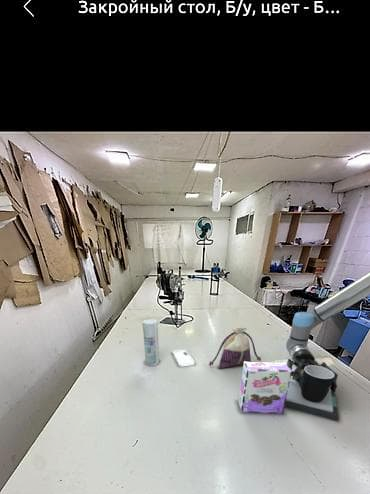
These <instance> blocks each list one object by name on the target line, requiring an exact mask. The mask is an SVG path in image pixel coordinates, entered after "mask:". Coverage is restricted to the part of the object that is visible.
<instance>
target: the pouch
mask: <svg viewBox="0 0 370 494" xmlns="http://www.w3.org/2000/svg"><path fill="white" fill-rule="evenodd" d="M231 330H232V331H233V332H232V333H230V334H228V335H227V336H226V337H225V338H224V339H223V340H222V342H221V343H220V345H219V348H218V351H217V352H216V355H215V357H214V358H213V359H212V361H209V363H208V366H209V367H211V366H213V365H214V362H215V361H217V358H218V356H219V354H220V352H221V354H220V358H219V361H218V365H217V368H218V369H223V368H229V367H236V366H240V365H243V364H244V361H246V362H252V360H251V359H252V358H251V345H252V351H253V354H254V356H255V357H256V360H257V361H258V362H262V358H261V356H258V354H257V352H256V347H255V343H254V340H253V338H252V337H251V335H250V334H249V333H248V332H246V331H247V327H237V328H236V329H231ZM250 342H251V345H250ZM221 350H222V351H221Z"/></svg>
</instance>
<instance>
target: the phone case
mask: <svg viewBox="0 0 370 494" xmlns="http://www.w3.org/2000/svg"><path fill="white" fill-rule="evenodd" d="M185 354H186V355H185ZM172 355H173V357H174V359H175V361H176V363H177V365H178V366H179V368H181V367H189V366H195V365H196V363H195V360H194V358H193V357H192V356H191V354H190V352H189V351H188V349H177V350H172Z"/></svg>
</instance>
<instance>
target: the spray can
mask: <svg viewBox="0 0 370 494" xmlns="http://www.w3.org/2000/svg"><path fill="white" fill-rule="evenodd" d="M142 330H143V331H142V333H143V346H144V360H145V364H146V365H147V366H156V365H158V364H159V363H160V345H159V344H160V343H159V321H158V319H154V318H148V319H145V320H143V321H142Z"/></svg>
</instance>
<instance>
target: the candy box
mask: <svg viewBox="0 0 370 494" xmlns="http://www.w3.org/2000/svg"><path fill="white" fill-rule="evenodd" d="M242 365H243V366H242V371H241V378H240V387H239V392H238V399H237V402H238V405H239V410H240V413H249V414H250V413H252V414H257V413H258V414H283V413H284V409H285V407H284V405H285V400H286V396H287V391H288V387H289V382H290V381H291V377H292V376H291V374H292V371H293V369H292V370H291V369H290V368H289V366H288V365H287V362H270V361H269V362H268V361H266V362H265V361H251V362H246V361H244V364H242Z"/></svg>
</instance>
